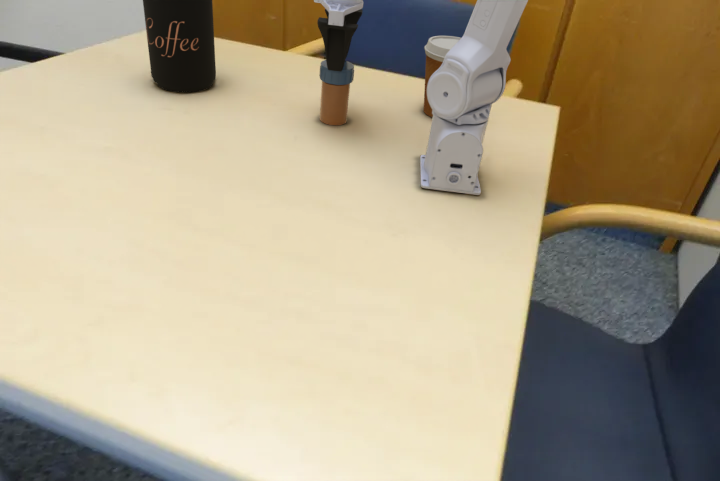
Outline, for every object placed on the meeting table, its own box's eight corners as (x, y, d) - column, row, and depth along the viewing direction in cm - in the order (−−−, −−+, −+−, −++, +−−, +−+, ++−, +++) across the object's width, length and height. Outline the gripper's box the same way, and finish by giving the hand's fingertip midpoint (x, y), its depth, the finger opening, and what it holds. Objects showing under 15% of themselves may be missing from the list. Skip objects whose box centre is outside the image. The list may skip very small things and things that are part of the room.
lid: (351, 86, 84) (353, 71, 82) (317, 82, 84) (317, 67, 82) (354, 76, 88) (356, 61, 87) (321, 72, 88) (322, 57, 87)
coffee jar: (139, 86, 93) (124, -32, 83) (174, 68, 102) (164, -40, 92) (196, 98, 91) (187, -20, 81) (227, 79, 100) (223, -30, 90)
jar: (345, 127, 88) (350, 73, 83) (317, 123, 88) (320, 70, 83) (348, 116, 91) (352, 65, 87) (321, 113, 91) (324, 61, 87)
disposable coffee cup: (403, 107, 97) (413, 37, 90) (441, 99, 102) (454, 32, 96) (440, 128, 91) (455, 54, 85) (479, 118, 97) (496, 48, 90)
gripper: (323, -46, 83) (318, 47, 91) (308, -30, 71) (303, 75, 79) (370, -40, 83) (360, 52, 90) (362, -23, 71) (353, 81, 79)
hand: (337, 63), depth 85 cm, fingers open, 6 cm apart
